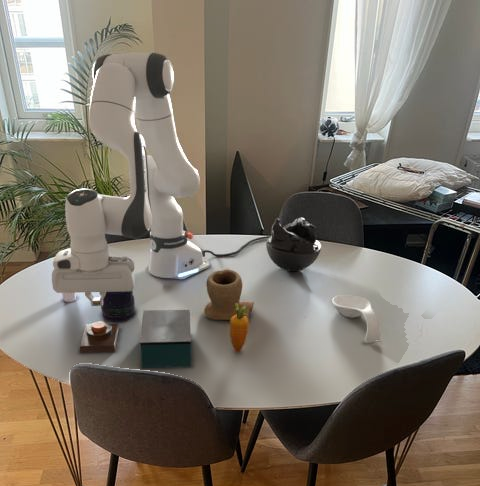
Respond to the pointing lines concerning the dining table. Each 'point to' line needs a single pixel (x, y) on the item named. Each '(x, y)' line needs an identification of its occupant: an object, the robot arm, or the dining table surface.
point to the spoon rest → (358, 313)
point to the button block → (99, 339)
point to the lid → (165, 327)
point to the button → (98, 327)
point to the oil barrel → (118, 306)
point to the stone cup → (225, 295)
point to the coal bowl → (293, 245)
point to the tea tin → (166, 355)
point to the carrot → (239, 328)
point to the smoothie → (69, 297)
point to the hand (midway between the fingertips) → (97, 304)
